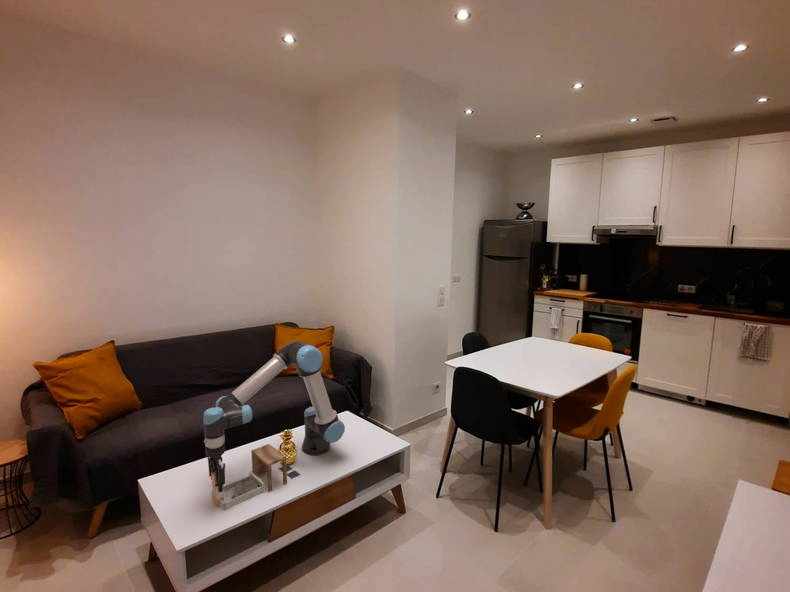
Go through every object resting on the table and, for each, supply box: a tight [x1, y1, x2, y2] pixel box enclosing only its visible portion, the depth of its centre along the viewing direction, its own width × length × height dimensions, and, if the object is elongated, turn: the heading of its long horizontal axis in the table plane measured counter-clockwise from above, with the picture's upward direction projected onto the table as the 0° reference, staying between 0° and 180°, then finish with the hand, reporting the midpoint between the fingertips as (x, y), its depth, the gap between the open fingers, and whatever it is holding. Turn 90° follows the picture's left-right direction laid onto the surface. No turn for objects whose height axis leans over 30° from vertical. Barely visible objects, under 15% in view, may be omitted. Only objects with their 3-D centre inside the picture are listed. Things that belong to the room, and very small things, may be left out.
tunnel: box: [251, 443, 288, 493], centre depth 194 cm, size 9×16×14 cm, turn 45°
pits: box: [278, 465, 301, 480], centre depth 203 cm, size 5×12×1 cm, turn 45°
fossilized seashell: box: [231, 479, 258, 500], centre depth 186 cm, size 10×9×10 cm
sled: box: [210, 471, 265, 510], centre depth 183 cm, size 20×12×14 cm, turn 135°
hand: (218, 495), depth 178 cm, fingers closed on sled, 3 cm apart
